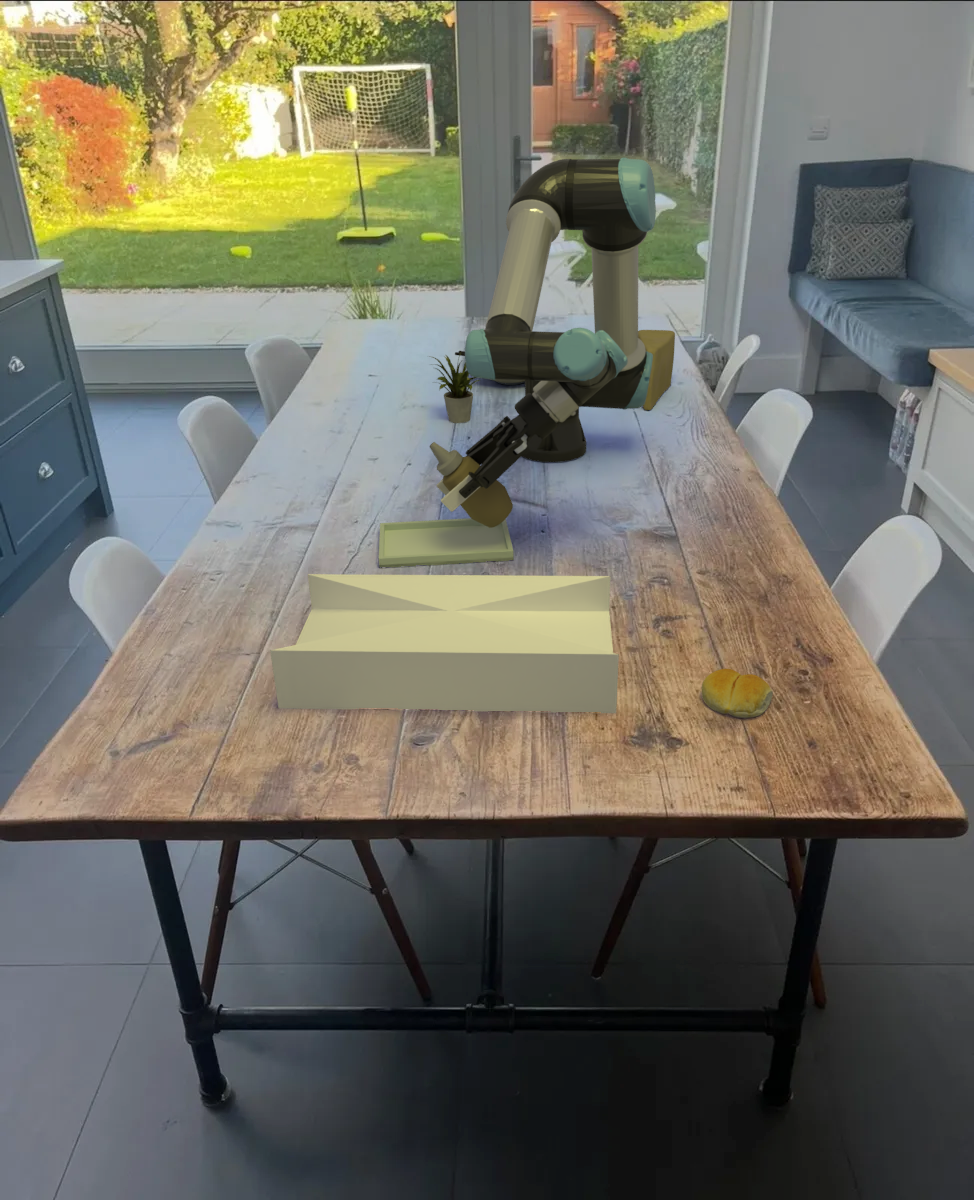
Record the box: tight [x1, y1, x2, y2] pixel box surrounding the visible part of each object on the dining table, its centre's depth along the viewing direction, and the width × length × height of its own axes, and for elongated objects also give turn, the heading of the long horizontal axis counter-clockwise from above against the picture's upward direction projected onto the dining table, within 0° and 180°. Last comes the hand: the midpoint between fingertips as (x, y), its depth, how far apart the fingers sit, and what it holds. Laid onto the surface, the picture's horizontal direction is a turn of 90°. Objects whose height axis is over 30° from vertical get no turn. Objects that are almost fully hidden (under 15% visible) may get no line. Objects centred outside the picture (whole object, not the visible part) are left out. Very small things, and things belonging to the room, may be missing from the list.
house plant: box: [428, 353, 482, 424], centre depth 236 cm, size 14×14×16 cm
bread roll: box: [701, 668, 774, 719], centre depth 132 cm, size 8×9×4 cm
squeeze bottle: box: [429, 441, 514, 528], centre depth 170 cm, size 8×8×18 cm
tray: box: [378, 517, 515, 568], centre depth 177 cm, size 23×15×2 cm, turn 95°
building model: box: [269, 573, 620, 714], centre depth 140 cm, size 45×22×10 cm, turn 86°
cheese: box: [638, 329, 676, 411], centre depth 248 cm, size 22×10×15 cm, turn 168°
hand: (444, 498), depth 171 cm, fingers closed on squeeze bottle, 6 cm apart
